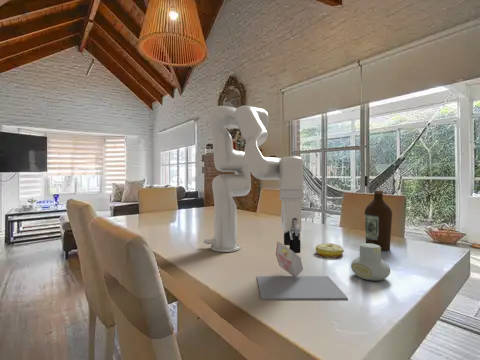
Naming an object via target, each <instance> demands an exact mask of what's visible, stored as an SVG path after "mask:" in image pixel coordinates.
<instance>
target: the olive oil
mask: <svg viewBox="0 0 480 360" xmlns="http://www.w3.org/2000/svg"><path fill="white" fill-rule="evenodd" d="M373 192H374V193H373V199H372V201H371V202H370V203H369V204H367V205H366V207H365V210H364V224H365V243H370V244H376V245H379V246H380V247H381V252H385V251H390V249H391V240H392V239H391V236H392V233H391V232H392V220H393V212H392V209H391V207H390V206H389V204H388V203H387V202H385V200H384V193H383V190H374V191H373Z"/></svg>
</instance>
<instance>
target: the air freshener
mask: <svg viewBox="0 0 480 360" xmlns="http://www.w3.org/2000/svg"><path fill="white" fill-rule="evenodd" d="M350 269H351V271H352V272H353V273H354V274H355V275H356V276H357V277H359V278H360V279H362V280H364V279H365V281H369V280H370V282H371V281H374V282H377V281H382V280H385V279H387V278H388V277H389V276H390V274H391V268H390V266H389V264H388V263H387V262H386V261H385V260H383V259H382V251H381V247H380V246H379V245H376V244H370V243H366V242H365V243H361V244H360V245H359V256H357V257H356V258H354V259H353V260H352V261H351V263H350Z"/></svg>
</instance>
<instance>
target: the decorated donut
mask: <svg viewBox="0 0 480 360" xmlns="http://www.w3.org/2000/svg"><path fill="white" fill-rule="evenodd" d="M315 251H316V253H317V254H318V255H319V256H321V257H326V258H339V257H341V256H342V255H343V253H344V251H345V249H344V248H343V247H342V246H341V245H338V244H335V243H331V242H330V243H328V242H327V243H320V244H317V245H315Z"/></svg>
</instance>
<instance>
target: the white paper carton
mask: <svg viewBox="0 0 480 360" xmlns="http://www.w3.org/2000/svg"><path fill="white" fill-rule="evenodd" d="M275 256H276V259H277V263H278V266H279V267H280V268H281V269H283V270H284V271H286V273H288V274H289V275H290V276H294V277H296V276H299V275H300V274H301V273H302V272H303V270H304V267H303V264H302V263H303V262H302V258H301V257H300V255H298V254H297V253H295V252H293V251H292V250H290V247H288V246H287V245H284V243H281V242H279V241H276V250H275Z"/></svg>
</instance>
